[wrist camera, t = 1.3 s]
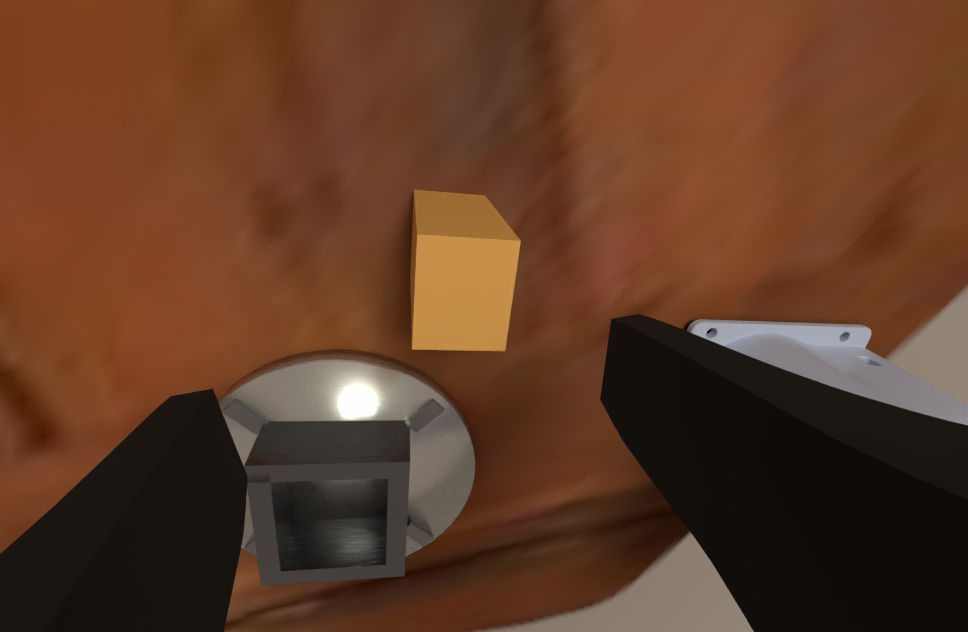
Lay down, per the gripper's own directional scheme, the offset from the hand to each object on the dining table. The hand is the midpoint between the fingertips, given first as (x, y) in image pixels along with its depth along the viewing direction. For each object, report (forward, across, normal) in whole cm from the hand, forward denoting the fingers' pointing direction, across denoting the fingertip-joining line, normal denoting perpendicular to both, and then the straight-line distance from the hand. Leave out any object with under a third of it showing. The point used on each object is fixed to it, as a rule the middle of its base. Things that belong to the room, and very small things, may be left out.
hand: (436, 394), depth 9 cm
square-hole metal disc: (+10, +3, +11) cm, 15 cm away
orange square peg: (+10, -2, +1) cm, 10 cm away
